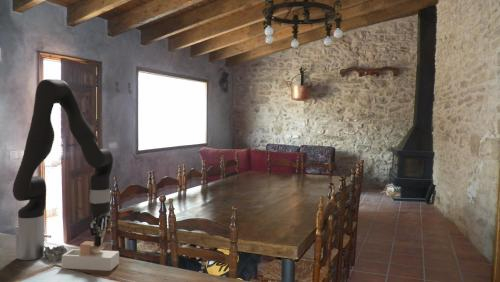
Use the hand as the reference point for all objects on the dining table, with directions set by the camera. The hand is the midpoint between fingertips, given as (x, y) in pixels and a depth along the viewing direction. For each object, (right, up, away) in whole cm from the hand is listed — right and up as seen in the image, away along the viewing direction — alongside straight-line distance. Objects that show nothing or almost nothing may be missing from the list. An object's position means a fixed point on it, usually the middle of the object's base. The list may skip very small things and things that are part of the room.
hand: (99, 243), depth 149 cm
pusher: (-1, -2, 0) cm, 3 cm away
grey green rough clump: (-22, -8, +9) cm, 25 cm away
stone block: (-5, -4, +1) cm, 6 cm away
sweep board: (-4, -9, +1) cm, 10 cm away
